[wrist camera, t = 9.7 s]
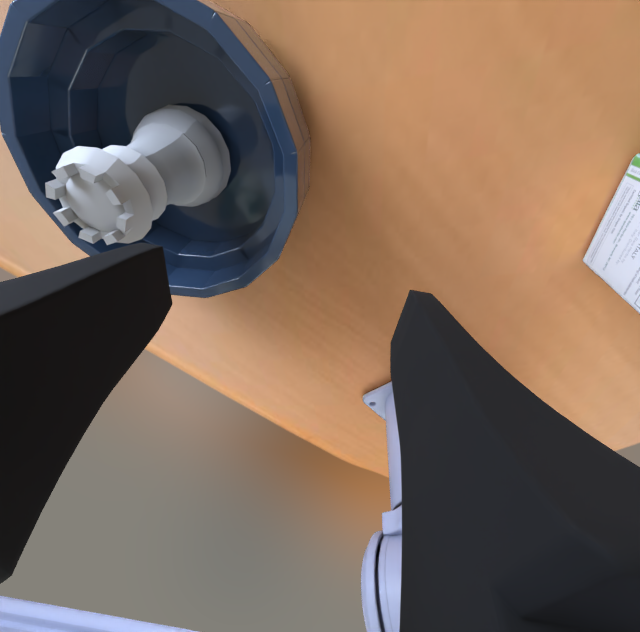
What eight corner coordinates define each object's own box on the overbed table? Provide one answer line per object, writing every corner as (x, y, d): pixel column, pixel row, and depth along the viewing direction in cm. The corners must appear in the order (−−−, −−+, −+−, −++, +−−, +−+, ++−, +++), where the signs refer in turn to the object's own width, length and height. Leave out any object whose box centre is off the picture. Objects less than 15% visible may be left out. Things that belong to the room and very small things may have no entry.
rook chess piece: (165, 80, 15) (19, 88, 9) (249, 147, 16) (176, 197, 10) (135, 163, 17) (4, 218, 11) (211, 215, 19) (133, 292, 12)
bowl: (361, 163, 17) (360, 190, 13) (220, 290, 23) (193, 332, 19) (152, -105, 12) (63, -178, 9) (41, 142, 18) (-39, 160, 14)
